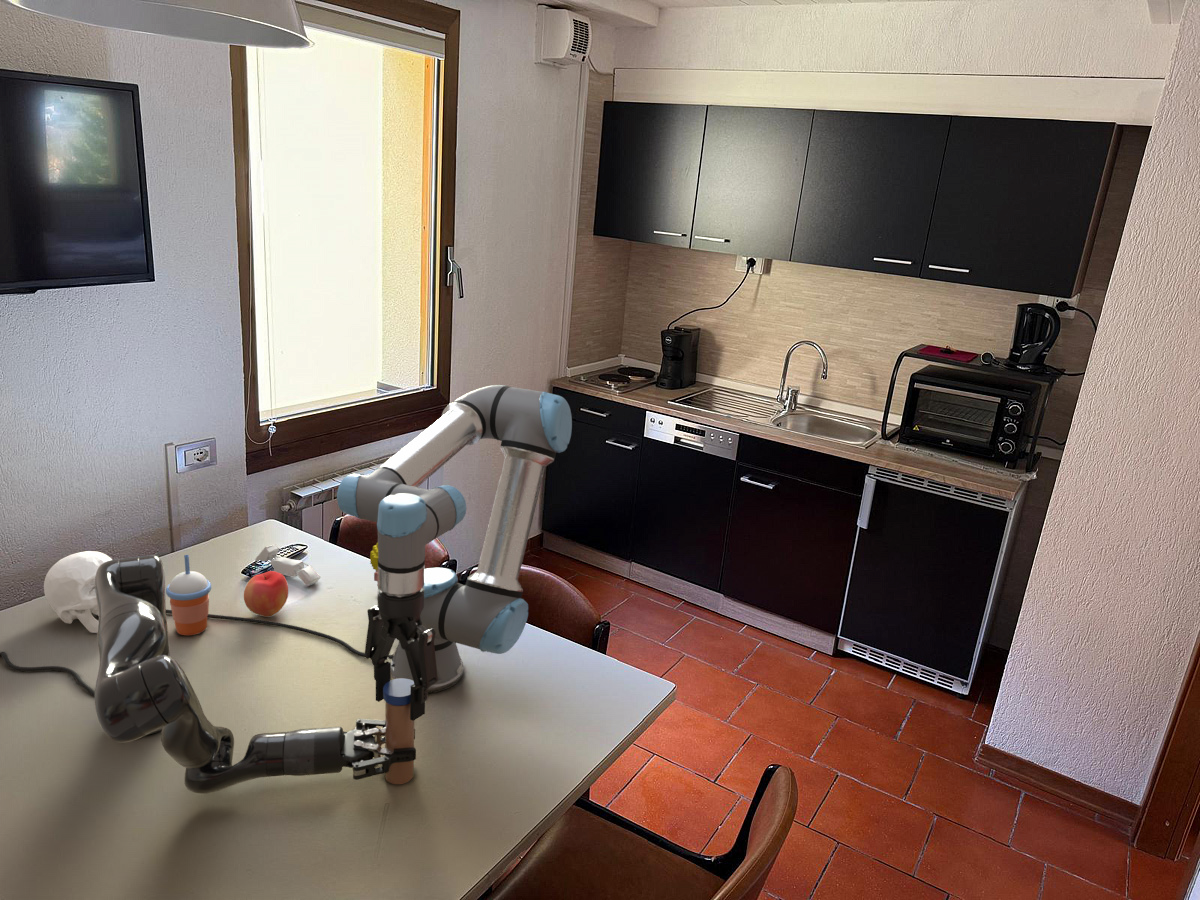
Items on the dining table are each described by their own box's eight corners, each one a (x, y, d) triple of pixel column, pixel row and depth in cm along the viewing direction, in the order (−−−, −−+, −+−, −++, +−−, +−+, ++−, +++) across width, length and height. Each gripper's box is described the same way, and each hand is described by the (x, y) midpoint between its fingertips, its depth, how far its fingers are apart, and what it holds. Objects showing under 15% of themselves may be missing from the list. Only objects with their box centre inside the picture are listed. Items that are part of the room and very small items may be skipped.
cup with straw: (196, 642, 187) (191, 567, 182) (159, 635, 188) (153, 560, 183) (222, 622, 195) (218, 550, 190) (187, 616, 197) (181, 544, 192)
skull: (111, 644, 183) (106, 576, 179) (31, 622, 189) (25, 556, 185) (159, 618, 196) (155, 554, 192) (82, 599, 202) (77, 536, 197)
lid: (412, 684, 150) (412, 675, 150) (420, 702, 145) (420, 693, 145) (380, 690, 148) (380, 681, 147) (387, 708, 143) (387, 699, 142)
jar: (416, 781, 150) (417, 696, 145) (387, 786, 148) (388, 700, 143) (410, 763, 154) (412, 680, 149) (383, 768, 153) (383, 684, 147)
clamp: (253, 565, 223) (254, 542, 221) (265, 560, 226) (266, 537, 224) (309, 593, 215) (310, 569, 213) (320, 588, 218) (321, 564, 216)
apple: (273, 600, 207) (272, 562, 204) (297, 613, 202) (296, 575, 199) (237, 614, 200) (234, 575, 197) (261, 628, 194) (259, 588, 191)
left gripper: (309, 759, 138) (416, 751, 142) (316, 707, 152) (414, 701, 156) (310, 798, 141) (416, 788, 145) (317, 743, 154) (414, 736, 158)
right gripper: (463, 599, 138) (459, 720, 145) (375, 561, 149) (375, 676, 156) (430, 616, 132) (427, 741, 139) (341, 575, 143) (342, 694, 150)
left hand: (414, 743), depth 150 cm, fingers closed on jar, 5 cm apart
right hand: (400, 706), depth 147 cm, fingers open, 8 cm apart
